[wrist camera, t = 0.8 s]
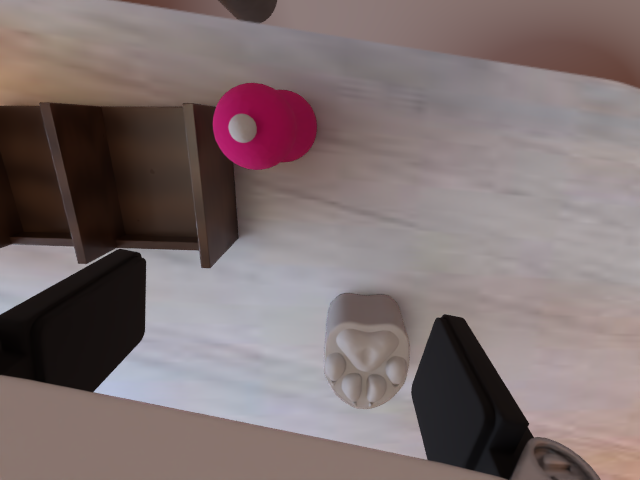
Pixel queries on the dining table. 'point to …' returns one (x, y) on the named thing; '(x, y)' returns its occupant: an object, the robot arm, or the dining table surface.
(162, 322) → the dining table surface
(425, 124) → the dining table surface
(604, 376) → the dining table surface
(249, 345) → the dining table surface
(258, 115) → the pepper mill
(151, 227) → the shelf
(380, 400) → the lumpy-topped squat cylinder
